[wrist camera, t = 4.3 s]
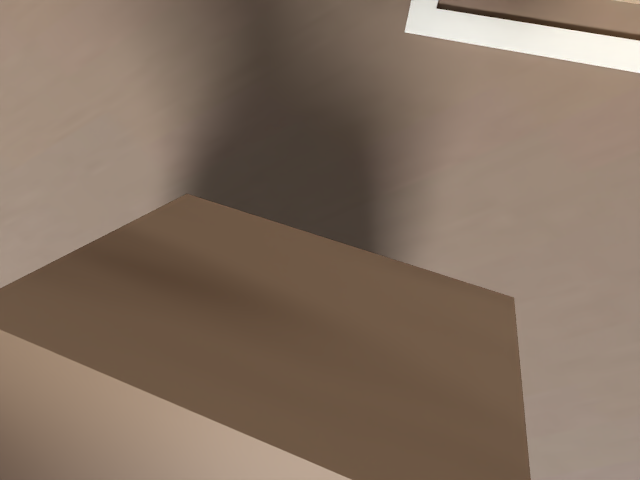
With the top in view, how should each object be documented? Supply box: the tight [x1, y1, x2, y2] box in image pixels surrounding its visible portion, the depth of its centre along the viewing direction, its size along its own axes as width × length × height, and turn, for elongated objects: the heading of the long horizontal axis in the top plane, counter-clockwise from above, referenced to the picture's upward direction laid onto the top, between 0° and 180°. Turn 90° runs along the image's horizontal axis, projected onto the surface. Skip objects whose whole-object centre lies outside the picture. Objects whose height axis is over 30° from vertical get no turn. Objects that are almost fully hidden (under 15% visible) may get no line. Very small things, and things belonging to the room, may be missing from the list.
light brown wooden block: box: [0, 194, 531, 480], centre depth 7 cm, size 6×6×4 cm
